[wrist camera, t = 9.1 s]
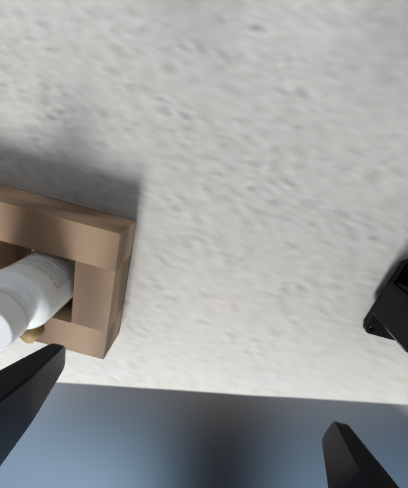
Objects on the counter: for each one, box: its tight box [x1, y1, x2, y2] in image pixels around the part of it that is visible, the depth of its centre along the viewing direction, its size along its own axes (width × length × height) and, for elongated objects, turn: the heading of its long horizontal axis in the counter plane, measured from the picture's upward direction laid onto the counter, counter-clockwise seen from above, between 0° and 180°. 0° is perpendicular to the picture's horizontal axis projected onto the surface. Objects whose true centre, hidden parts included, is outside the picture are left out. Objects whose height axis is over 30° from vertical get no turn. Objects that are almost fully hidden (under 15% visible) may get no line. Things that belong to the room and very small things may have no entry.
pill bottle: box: [0, 250, 75, 351], centre depth 17 cm, size 4×4×8 cm
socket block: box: [0, 184, 136, 359], centre depth 19 cm, size 11×11×4 cm
